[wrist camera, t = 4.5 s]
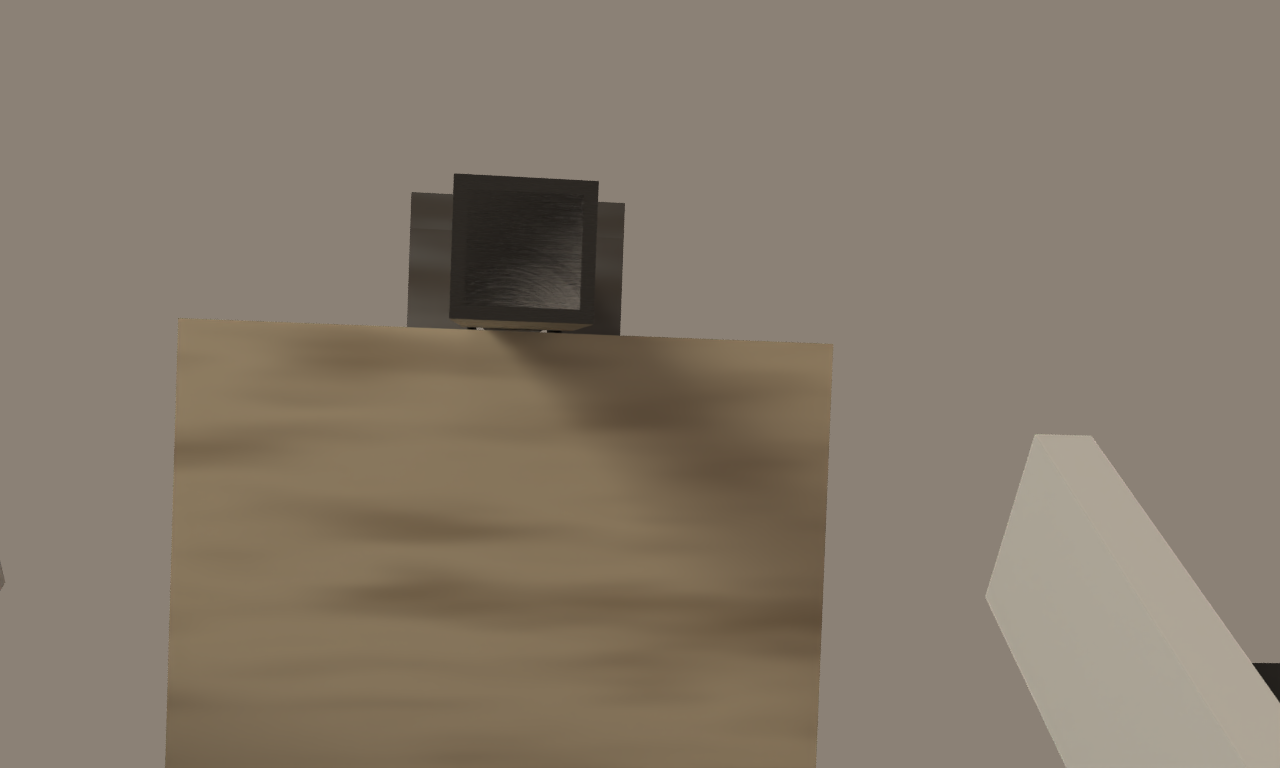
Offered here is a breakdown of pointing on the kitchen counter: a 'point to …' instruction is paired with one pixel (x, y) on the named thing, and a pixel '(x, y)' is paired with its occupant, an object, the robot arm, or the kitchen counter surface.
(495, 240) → the grey square bar
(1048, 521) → the robot arm
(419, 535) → the oak stand
